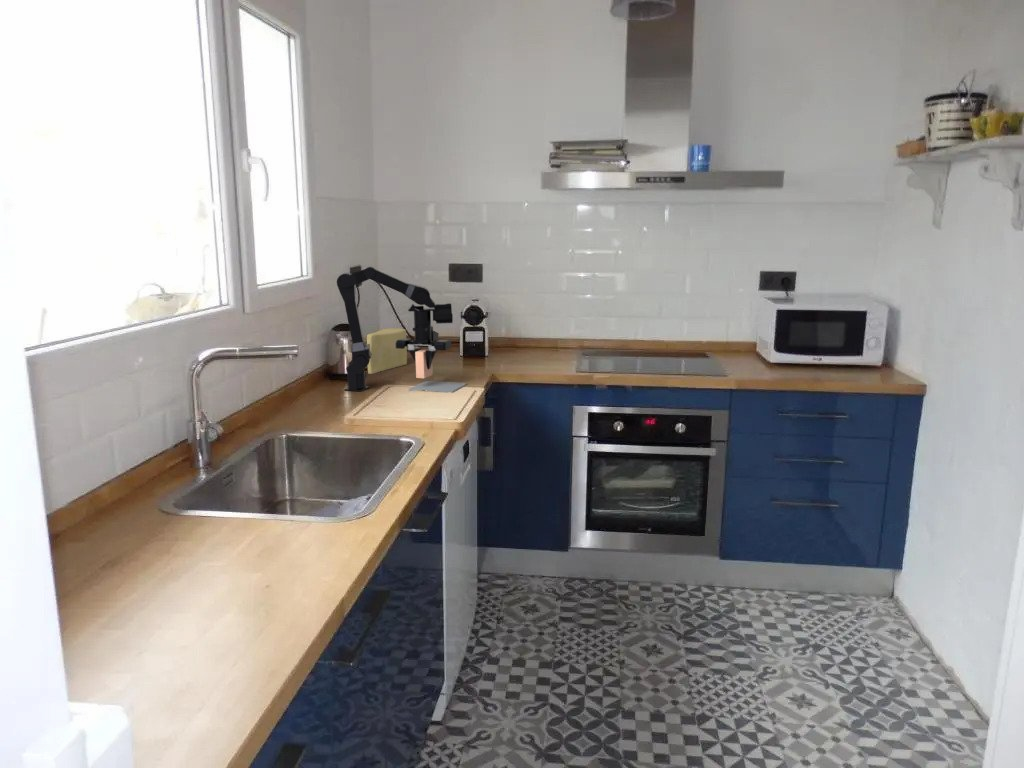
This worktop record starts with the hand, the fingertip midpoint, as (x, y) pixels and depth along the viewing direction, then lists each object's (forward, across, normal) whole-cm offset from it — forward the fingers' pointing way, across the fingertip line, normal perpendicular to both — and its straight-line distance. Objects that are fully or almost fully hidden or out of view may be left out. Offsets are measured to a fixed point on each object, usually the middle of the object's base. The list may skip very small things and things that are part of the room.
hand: (424, 369), depth 260 cm
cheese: (+7, +30, -27) cm, 41 cm away
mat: (+6, -5, 0) cm, 8 cm away
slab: (+2, 0, 0) cm, 2 cm away
